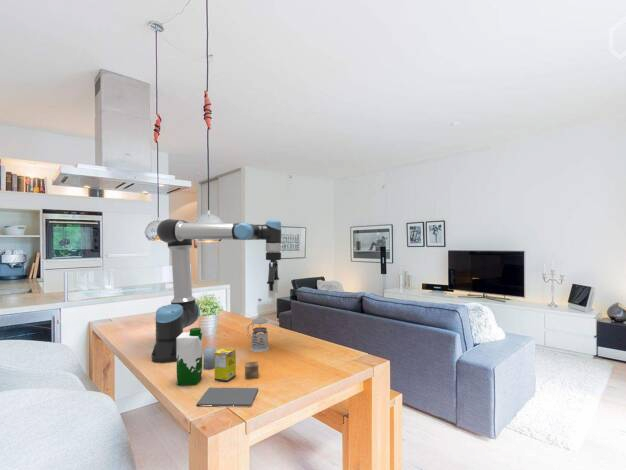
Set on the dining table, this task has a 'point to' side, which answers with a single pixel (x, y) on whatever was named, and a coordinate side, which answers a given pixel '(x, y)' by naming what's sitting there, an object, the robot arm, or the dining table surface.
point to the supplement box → (225, 364)
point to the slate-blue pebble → (209, 358)
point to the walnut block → (251, 370)
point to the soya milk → (189, 357)
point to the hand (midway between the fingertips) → (273, 295)
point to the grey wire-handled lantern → (259, 335)
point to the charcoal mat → (228, 397)
